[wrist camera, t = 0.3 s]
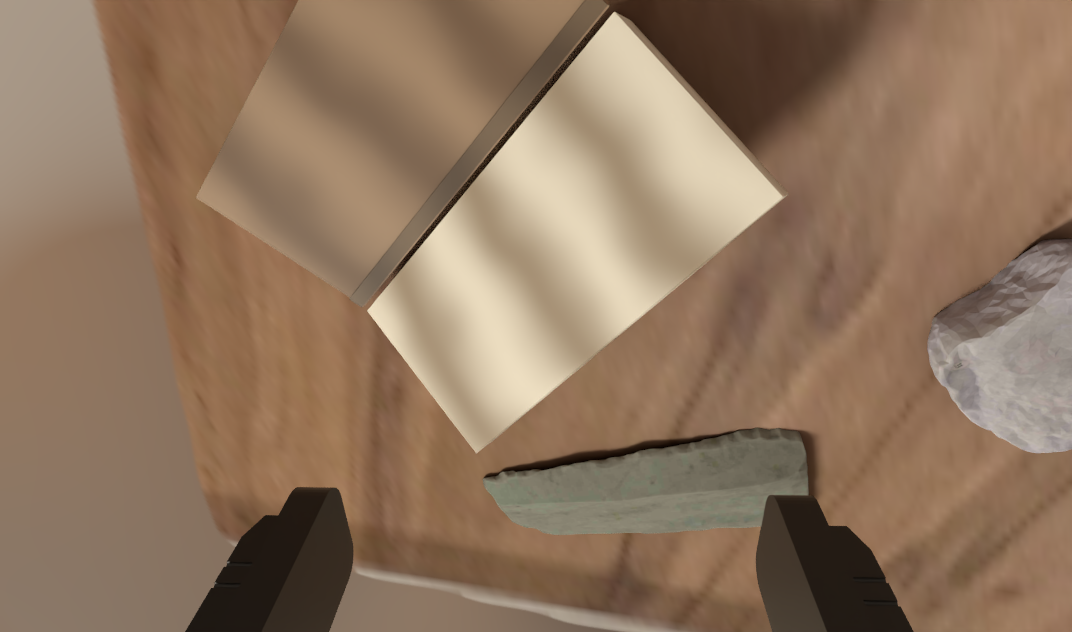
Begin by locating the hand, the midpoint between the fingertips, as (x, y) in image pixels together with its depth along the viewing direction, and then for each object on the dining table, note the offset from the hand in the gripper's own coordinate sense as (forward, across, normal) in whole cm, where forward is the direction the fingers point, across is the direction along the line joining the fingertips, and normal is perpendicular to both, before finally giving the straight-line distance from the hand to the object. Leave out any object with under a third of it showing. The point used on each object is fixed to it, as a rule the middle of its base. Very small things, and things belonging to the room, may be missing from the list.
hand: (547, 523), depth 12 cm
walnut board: (+22, +8, -4) cm, 24 cm away
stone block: (+24, -26, +10) cm, 36 cm away
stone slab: (+26, -5, +24) cm, 36 cm away
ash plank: (+20, +1, +3) cm, 20 cm away
